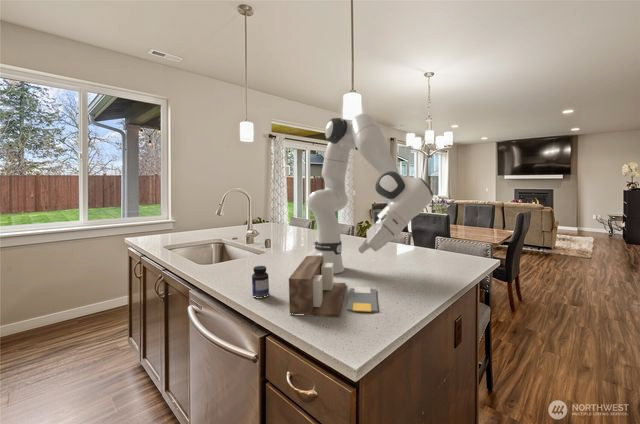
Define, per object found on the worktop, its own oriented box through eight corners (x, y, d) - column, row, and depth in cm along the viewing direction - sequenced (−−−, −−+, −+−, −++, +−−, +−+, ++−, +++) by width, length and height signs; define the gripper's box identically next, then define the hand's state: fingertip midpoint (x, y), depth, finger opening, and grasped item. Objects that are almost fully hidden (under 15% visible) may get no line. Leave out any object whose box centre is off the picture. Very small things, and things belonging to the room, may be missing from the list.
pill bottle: (253, 293, 117) (252, 265, 116) (269, 292, 118) (268, 264, 117) (251, 299, 111) (250, 270, 110) (268, 298, 112) (267, 269, 111)
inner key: (333, 285, 121) (333, 263, 120) (331, 290, 115) (331, 267, 114) (323, 284, 122) (323, 262, 121) (321, 290, 116) (321, 267, 115)
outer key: (322, 300, 106) (322, 275, 105) (320, 307, 100) (319, 280, 99) (311, 299, 106) (310, 274, 106) (308, 306, 101) (307, 280, 100)
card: (375, 289, 119) (375, 287, 119) (377, 313, 97) (377, 311, 97) (349, 288, 120) (349, 286, 120) (346, 312, 99) (346, 309, 99)
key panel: (345, 285, 125) (345, 256, 123) (339, 317, 95) (338, 280, 94) (307, 283, 127) (306, 255, 126) (289, 314, 98) (288, 278, 96)
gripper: (381, 210, 107) (353, 238, 110) (386, 218, 87) (352, 251, 89) (394, 223, 107) (366, 250, 110) (402, 234, 87) (367, 266, 89)
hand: (360, 251), depth 99 cm, fingers closed
